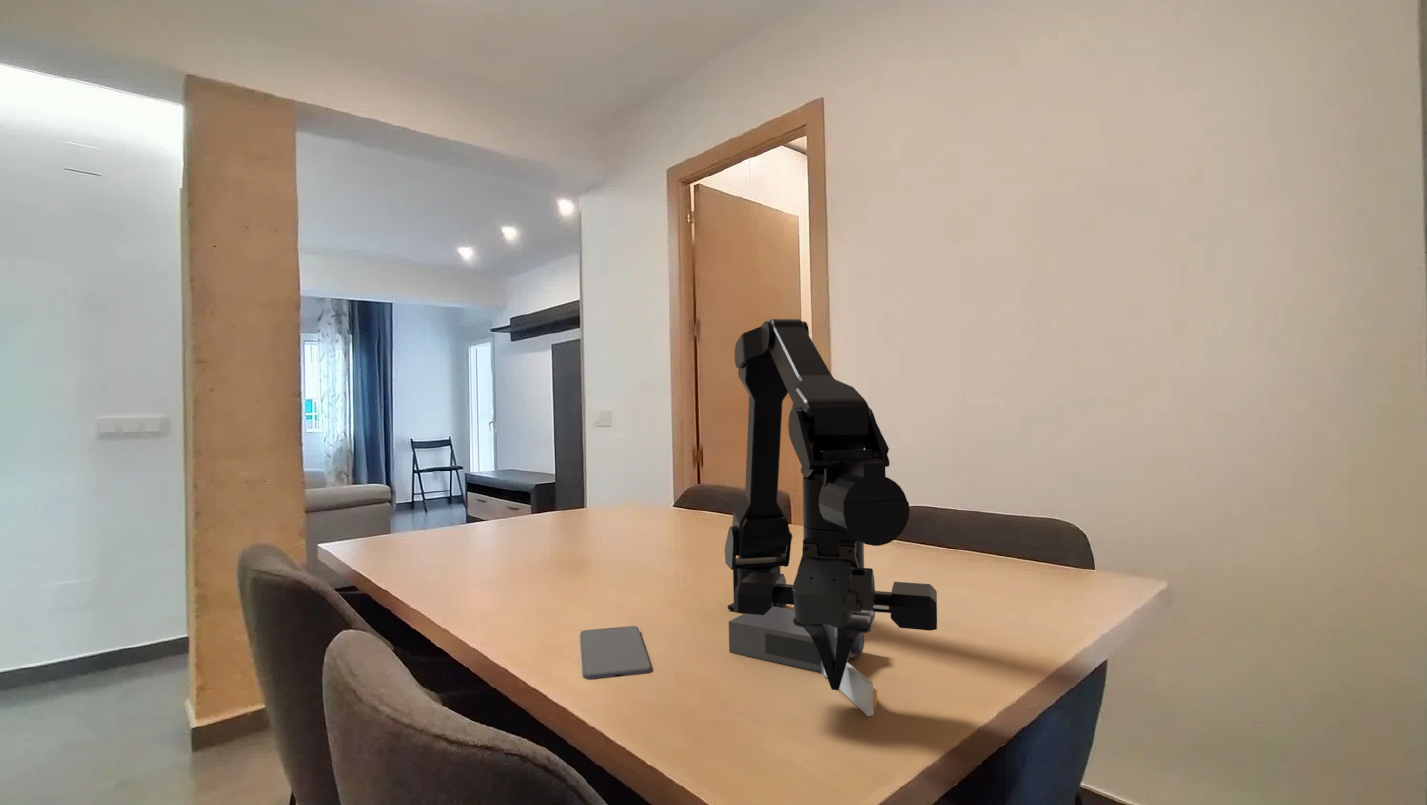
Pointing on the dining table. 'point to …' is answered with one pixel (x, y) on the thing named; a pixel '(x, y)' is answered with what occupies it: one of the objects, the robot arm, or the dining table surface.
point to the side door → (858, 689)
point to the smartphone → (613, 652)
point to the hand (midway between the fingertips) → (835, 688)
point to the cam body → (779, 639)
